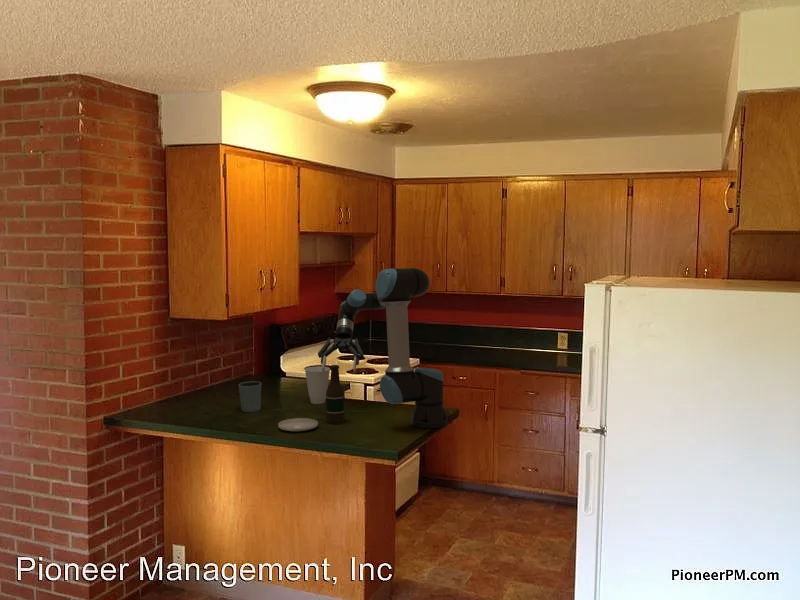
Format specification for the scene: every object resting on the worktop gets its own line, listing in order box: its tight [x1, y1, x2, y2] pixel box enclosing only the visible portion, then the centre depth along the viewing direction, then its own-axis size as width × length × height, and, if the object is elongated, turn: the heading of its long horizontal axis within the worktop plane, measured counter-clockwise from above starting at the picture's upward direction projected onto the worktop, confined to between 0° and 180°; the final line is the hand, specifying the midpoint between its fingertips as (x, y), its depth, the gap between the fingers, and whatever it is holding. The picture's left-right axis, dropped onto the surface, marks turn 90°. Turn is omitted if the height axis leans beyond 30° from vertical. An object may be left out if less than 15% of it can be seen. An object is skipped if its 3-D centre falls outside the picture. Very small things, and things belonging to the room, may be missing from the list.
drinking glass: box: [237, 380, 262, 413], centre depth 311 cm, size 10×10×12 cm
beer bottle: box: [325, 364, 346, 425], centre depth 289 cm, size 8×8×24 cm
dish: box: [277, 417, 319, 433], centre depth 280 cm, size 16×16×2 cm
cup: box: [304, 366, 331, 405], centre depth 324 cm, size 12×12×16 cm
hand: (338, 370), depth 298 cm, fingers open, 13 cm apart
